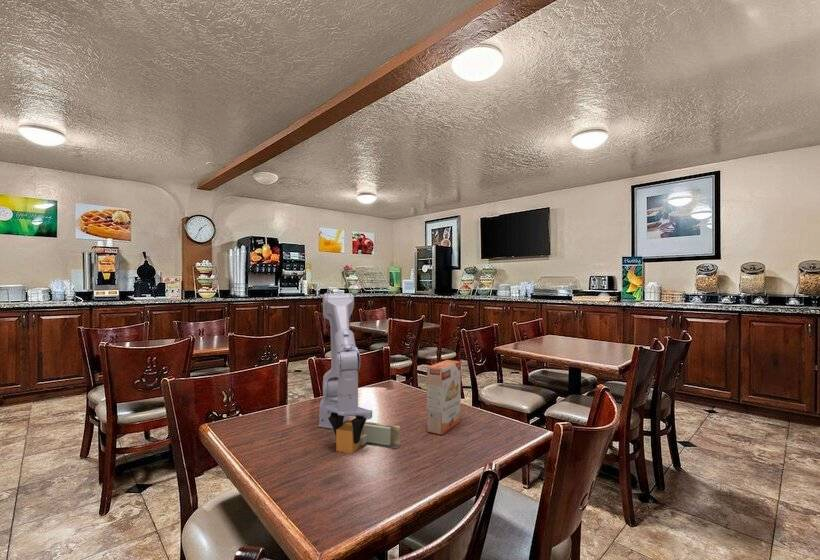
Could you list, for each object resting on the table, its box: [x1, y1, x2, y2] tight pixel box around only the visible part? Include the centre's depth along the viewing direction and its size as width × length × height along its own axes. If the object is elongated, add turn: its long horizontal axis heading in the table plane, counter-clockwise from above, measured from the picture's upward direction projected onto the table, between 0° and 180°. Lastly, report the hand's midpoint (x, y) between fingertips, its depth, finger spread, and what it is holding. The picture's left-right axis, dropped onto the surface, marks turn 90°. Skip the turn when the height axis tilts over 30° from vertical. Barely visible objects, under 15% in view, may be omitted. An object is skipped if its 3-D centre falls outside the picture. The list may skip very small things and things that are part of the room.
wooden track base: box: [343, 418, 401, 450], centre depth 113 cm, size 18×3×6 cm, turn 70°
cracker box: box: [426, 359, 462, 436], centre depth 125 cm, size 14×6×21 cm, turn 148°
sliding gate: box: [359, 424, 391, 446], centre depth 110 cm, size 8×4×5 cm, turn 70°
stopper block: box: [335, 422, 363, 455], centre depth 110 cm, size 5×6×6 cm
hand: (348, 441), depth 109 cm, fingers closed on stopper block, 5 cm apart
